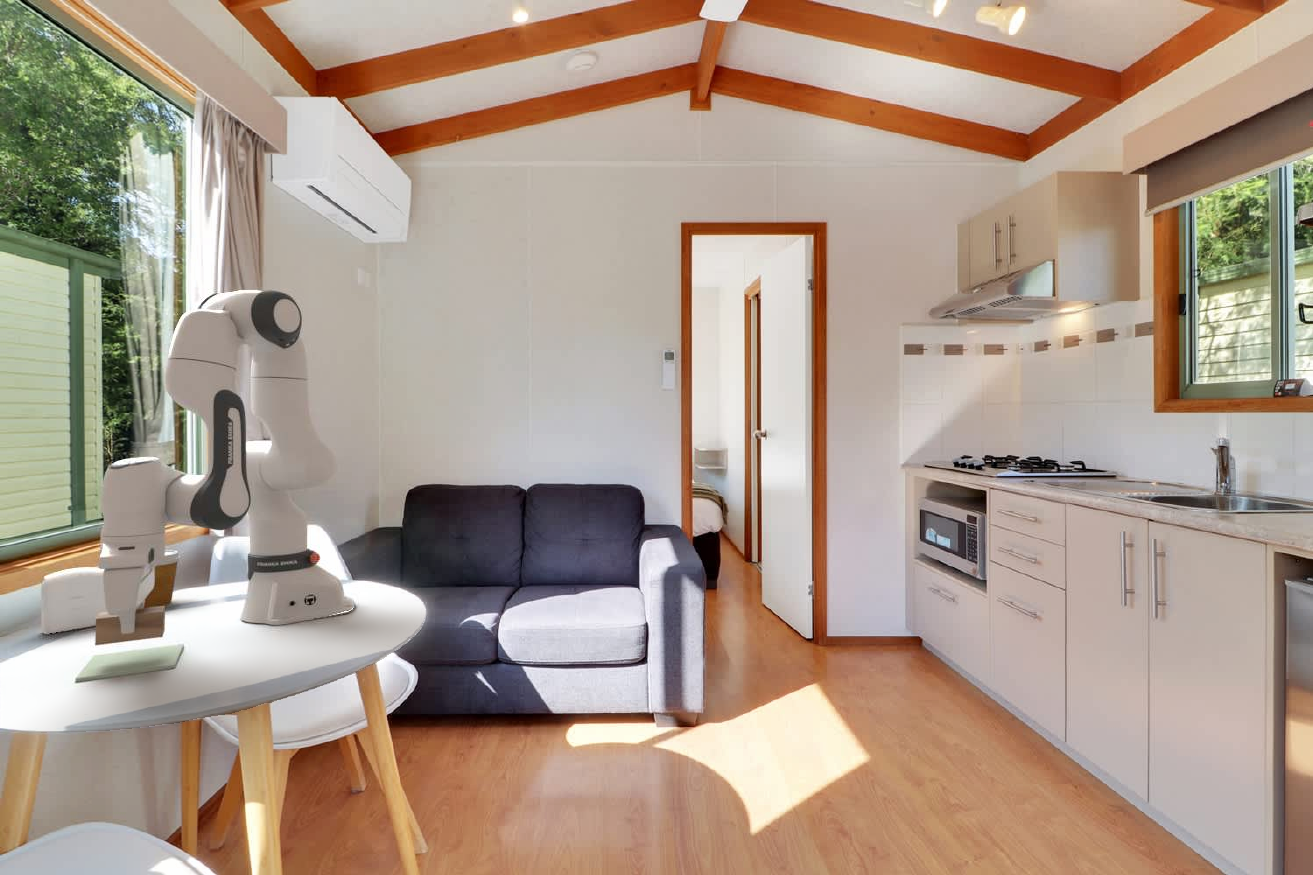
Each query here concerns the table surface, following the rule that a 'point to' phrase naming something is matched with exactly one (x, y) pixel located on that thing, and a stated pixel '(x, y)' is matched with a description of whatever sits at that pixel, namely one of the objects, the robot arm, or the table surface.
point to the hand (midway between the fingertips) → (131, 627)
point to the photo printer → (71, 599)
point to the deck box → (147, 627)
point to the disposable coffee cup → (163, 580)
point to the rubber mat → (131, 662)
